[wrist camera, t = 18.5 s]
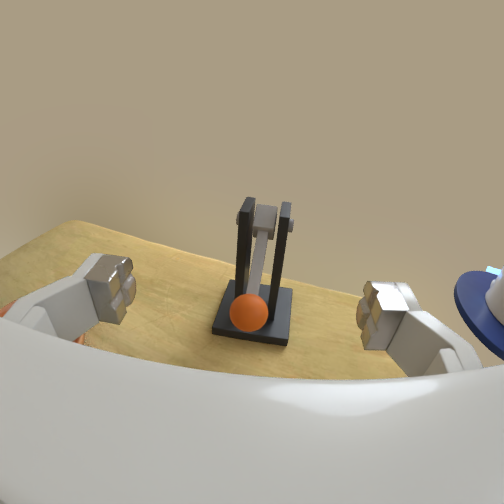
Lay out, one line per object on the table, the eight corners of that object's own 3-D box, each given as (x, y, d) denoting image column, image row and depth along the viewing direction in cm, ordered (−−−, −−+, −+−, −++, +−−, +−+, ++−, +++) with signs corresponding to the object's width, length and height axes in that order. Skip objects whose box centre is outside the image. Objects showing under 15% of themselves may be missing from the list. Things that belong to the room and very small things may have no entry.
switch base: (286, 346, 34) (310, 233, 26) (211, 334, 34) (211, 219, 27) (291, 295, 42) (308, 197, 35) (229, 285, 43) (234, 187, 36)
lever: (264, 337, 28) (265, 330, 25) (228, 331, 28) (224, 323, 25) (282, 222, 34) (284, 203, 31) (251, 218, 34) (250, 199, 31)
